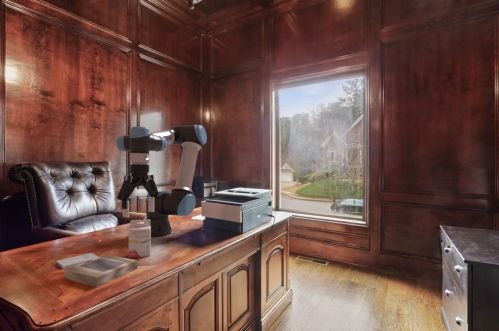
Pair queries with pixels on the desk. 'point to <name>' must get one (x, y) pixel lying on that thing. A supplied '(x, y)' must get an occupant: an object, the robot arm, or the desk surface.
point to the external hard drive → (75, 260)
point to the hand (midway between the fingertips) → (139, 214)
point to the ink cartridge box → (139, 239)
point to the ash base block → (100, 270)
